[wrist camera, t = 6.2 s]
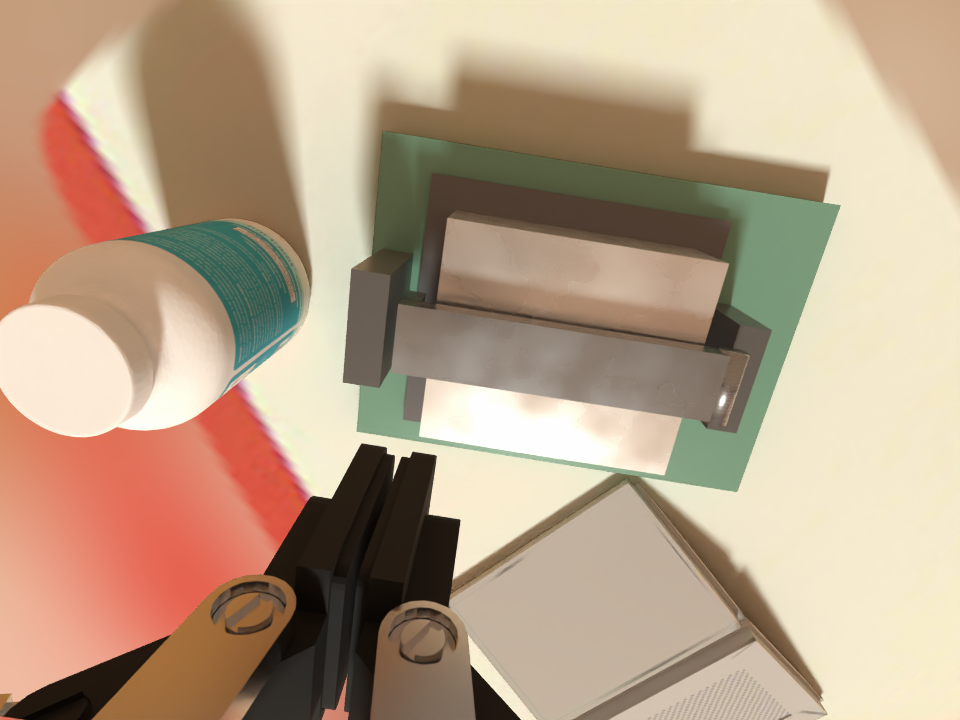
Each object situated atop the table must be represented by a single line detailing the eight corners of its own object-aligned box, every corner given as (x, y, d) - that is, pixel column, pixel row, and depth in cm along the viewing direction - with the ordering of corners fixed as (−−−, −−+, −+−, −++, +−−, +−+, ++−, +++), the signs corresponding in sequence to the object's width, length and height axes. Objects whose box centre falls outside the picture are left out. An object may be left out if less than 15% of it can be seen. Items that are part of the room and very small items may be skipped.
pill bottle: (199, 193, 29) (-45, 212, 16) (332, 251, 29) (200, 315, 17) (168, 319, 31) (-67, 423, 18) (291, 370, 32) (148, 505, 19)
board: (823, 203, 28) (931, 215, 21) (727, 477, 33) (786, 561, 26) (389, 132, 27) (348, 120, 20) (363, 420, 33) (324, 488, 26)
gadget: (442, 589, 37) (435, 633, 34) (627, 466, 34) (641, 501, 30) (639, 779, 43) (651, 835, 39) (819, 691, 39) (850, 743, 35)
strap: (728, 338, 25) (755, 358, 22) (708, 402, 26) (731, 428, 23) (408, 288, 24) (398, 302, 22) (400, 355, 26) (389, 375, 23)
